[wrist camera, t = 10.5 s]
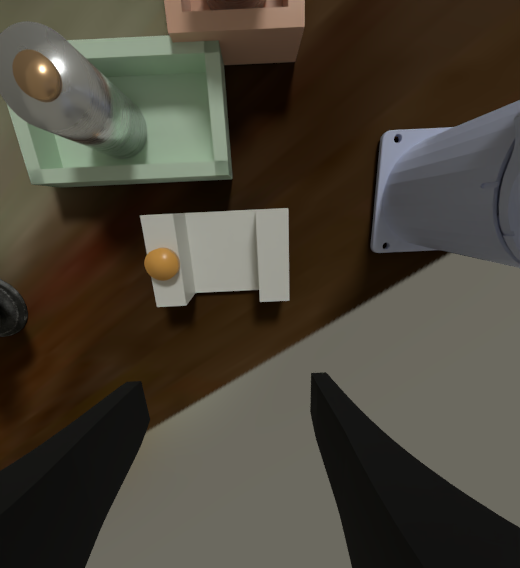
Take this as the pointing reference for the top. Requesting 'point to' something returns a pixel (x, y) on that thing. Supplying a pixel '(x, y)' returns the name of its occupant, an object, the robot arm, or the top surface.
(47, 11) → the top surface
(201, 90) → the trough
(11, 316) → the grey chess piece
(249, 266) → the cradle
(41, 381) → the top surface
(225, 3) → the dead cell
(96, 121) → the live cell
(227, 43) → the cup
